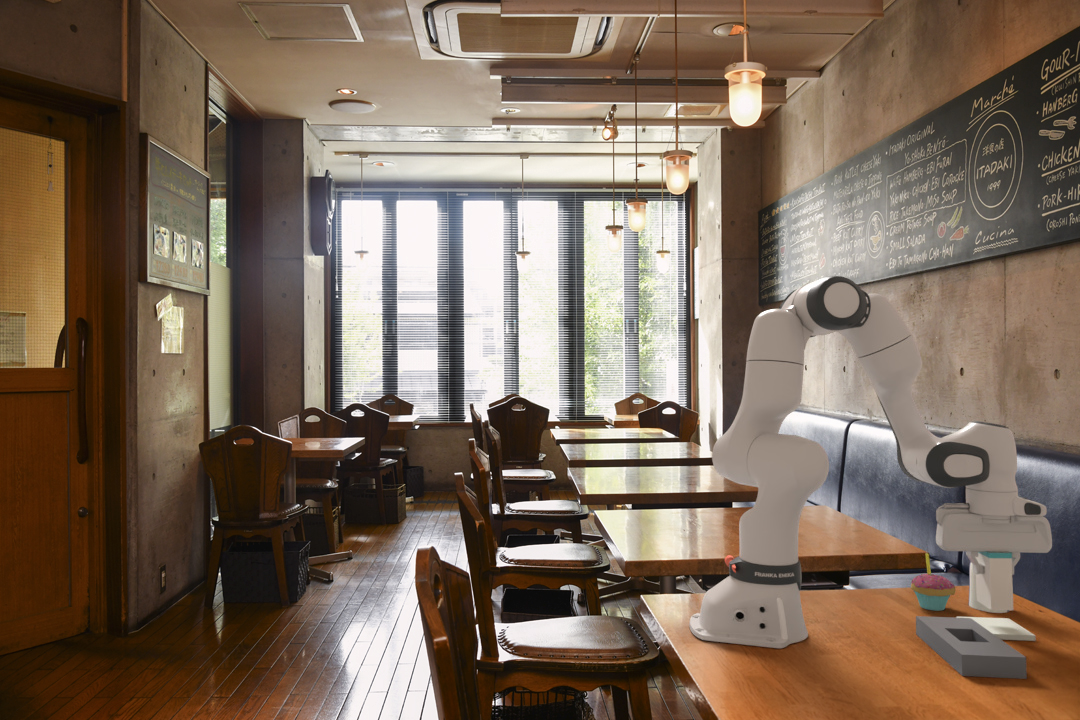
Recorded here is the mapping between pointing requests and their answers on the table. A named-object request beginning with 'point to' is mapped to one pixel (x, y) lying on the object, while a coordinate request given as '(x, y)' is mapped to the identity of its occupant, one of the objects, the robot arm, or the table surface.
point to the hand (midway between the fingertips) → (993, 573)
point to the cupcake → (932, 589)
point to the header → (971, 647)
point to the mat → (1004, 628)
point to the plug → (995, 580)
